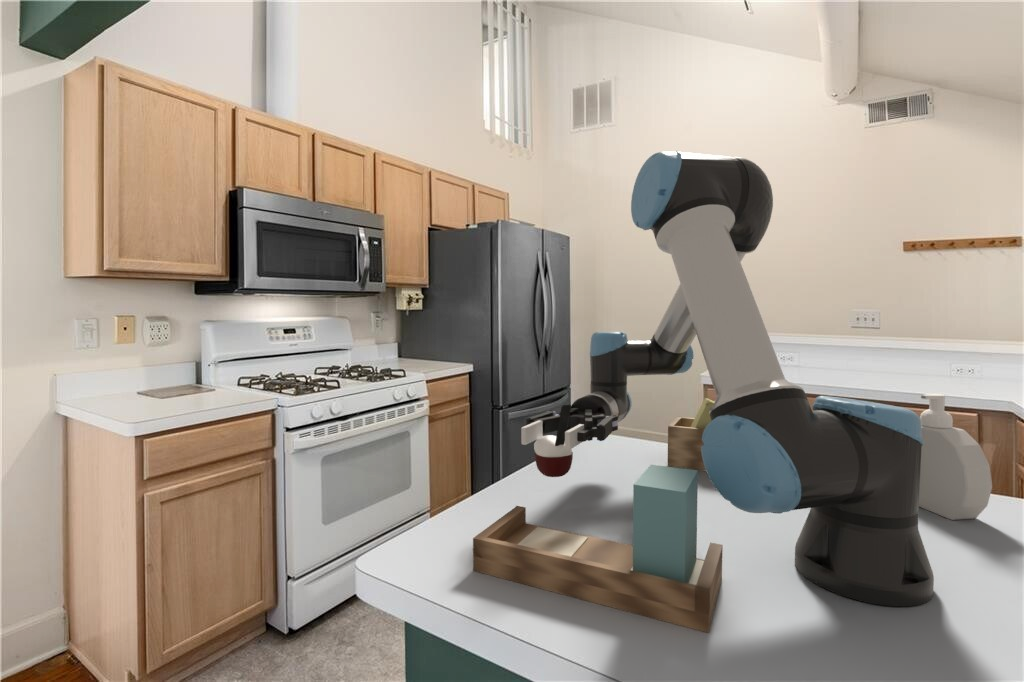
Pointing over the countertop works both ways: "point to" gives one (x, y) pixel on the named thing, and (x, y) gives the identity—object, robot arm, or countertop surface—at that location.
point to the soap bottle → (951, 466)
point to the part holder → (685, 444)
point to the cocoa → (554, 449)
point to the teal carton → (665, 522)
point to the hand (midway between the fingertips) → (545, 438)
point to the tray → (596, 571)
